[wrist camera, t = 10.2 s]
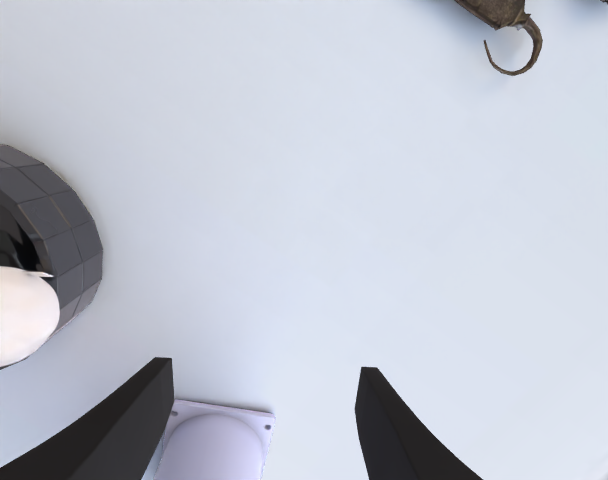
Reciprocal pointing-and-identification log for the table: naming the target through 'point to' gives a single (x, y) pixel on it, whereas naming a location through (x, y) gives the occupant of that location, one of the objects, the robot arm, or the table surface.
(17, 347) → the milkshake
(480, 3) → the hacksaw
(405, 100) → the table surface
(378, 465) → the robot arm
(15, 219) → the bowl
